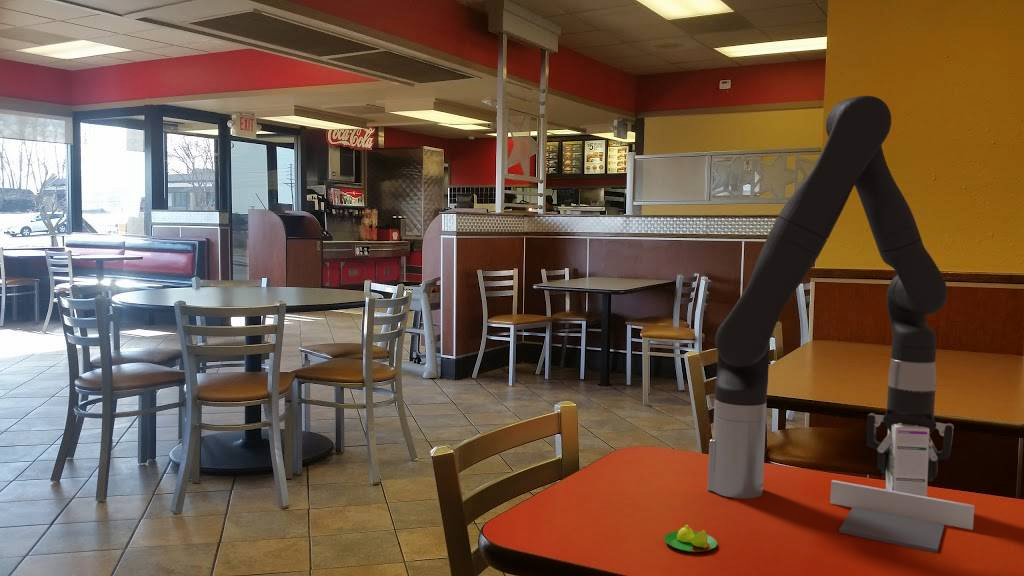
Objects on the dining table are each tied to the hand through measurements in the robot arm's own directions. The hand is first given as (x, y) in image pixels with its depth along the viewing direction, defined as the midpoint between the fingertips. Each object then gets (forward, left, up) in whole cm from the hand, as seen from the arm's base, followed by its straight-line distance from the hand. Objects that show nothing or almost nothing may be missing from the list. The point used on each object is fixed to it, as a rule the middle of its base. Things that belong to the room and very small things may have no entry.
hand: (906, 476), depth 142 cm
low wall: (0, -8, -5) cm, 9 cm away
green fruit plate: (-26, -40, -5) cm, 47 cm away
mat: (0, -16, -5) cm, 17 cm away
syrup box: (0, 0, -5) cm, 5 cm away
